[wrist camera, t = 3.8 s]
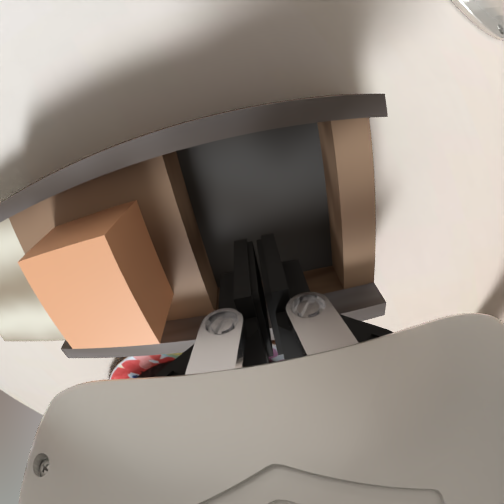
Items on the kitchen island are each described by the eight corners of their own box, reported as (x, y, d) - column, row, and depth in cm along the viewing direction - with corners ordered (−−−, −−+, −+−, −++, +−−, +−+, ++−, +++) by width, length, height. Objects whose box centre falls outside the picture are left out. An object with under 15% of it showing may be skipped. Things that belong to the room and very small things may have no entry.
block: (54, 227, 14) (17, 262, 10) (136, 199, 13) (104, 235, 10) (95, 306, 17) (72, 348, 13) (173, 293, 16) (159, 343, 13)
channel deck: (-35, 226, 16) (-66, 252, 12) (344, 94, 14) (384, 94, 9) (16, 322, 22) (-4, 354, 17) (357, 269, 19) (384, 315, 15)
